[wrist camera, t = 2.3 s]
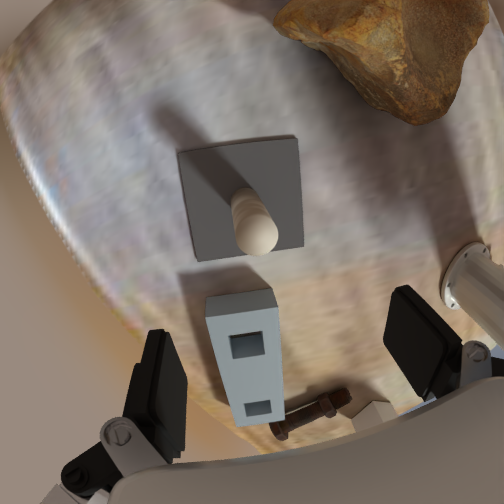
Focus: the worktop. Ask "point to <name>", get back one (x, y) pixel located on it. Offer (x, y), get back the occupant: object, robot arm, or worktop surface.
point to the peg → (252, 223)
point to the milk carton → (374, 415)
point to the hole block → (248, 354)
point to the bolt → (311, 413)
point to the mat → (233, 178)
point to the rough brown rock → (392, 47)
